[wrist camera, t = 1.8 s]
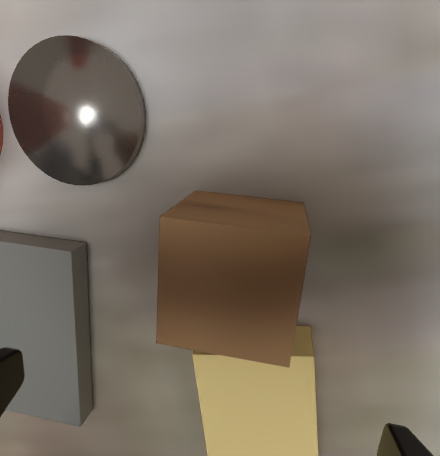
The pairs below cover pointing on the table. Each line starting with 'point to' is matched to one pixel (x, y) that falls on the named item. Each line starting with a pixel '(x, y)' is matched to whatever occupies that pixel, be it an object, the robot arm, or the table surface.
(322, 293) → the table surface
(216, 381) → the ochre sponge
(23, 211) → the table surface
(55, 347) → the grey metal square plate
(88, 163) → the jar lid
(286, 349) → the walnut cube
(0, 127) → the brick-red tin
